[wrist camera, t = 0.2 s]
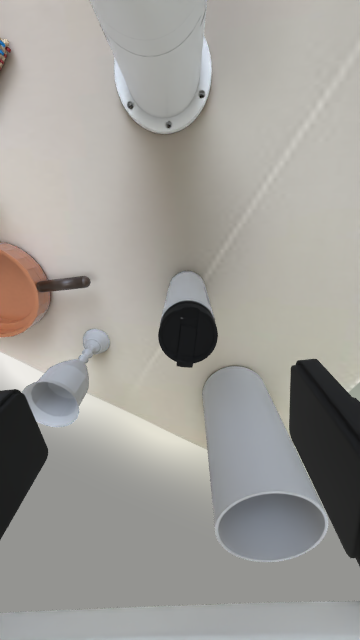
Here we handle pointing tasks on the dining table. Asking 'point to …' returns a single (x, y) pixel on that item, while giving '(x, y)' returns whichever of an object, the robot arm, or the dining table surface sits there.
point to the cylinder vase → (256, 473)
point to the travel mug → (187, 321)
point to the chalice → (65, 385)
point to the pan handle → (63, 284)
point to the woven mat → (3, 50)
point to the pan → (20, 291)
